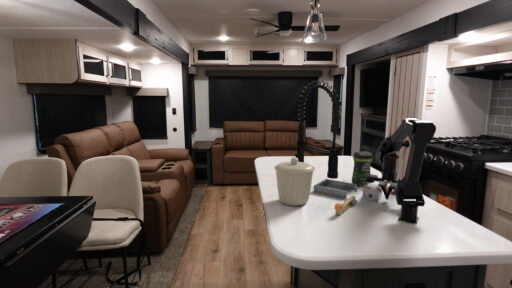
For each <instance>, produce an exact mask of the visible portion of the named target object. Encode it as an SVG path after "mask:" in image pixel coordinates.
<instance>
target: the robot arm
mask: <svg viewBox="0 0 512 288" xmlns="http://www.w3.org/2000/svg"><path fill="white" fill-rule="evenodd" d="M436 132H437V126H436V124H435V123H434V122H433V121H432V120H420V119H417V118H404V119H402V120H401V123H400V125H399V126H398V128H396V129H395V130H394V132H393V134H392V135H390V136H387V137H385V138H384V139H383V140H382V141H381V143H380V145H379V147H378V148H377V151H376V152H375V154H374V158H375V160H376V161H377V162H379V163H381V164H382V169H381V177H378V174H371V173H370V175H368V176H367V177H366V182H368V183H371V184H374V183H375V182H378V184H379V185H378V184H377V185H378V186H380V187H381V188H382V194H383V195H384V198H385V200H389V198H390V197H391V194H392V193H391V192H392V191H394V189H396V190H395V192H396V194H395V201H396V204H397V205H398V206H401V208H400V215H399V216H398V218H397V220H398V221H401V222H402V221H403V222H407V223H411V224H416V225H417V224H418V222H419V219H420V217H419V216H418V211H419V207H425V204H426V201H425V198H424V195H423V193H422V185H421V183H420V182H419V179H420V175H421V169H422V165H423V160H424V156H425V152H426V149H427V148H426V147H427V146H428V145H429V143H431V142H432V140H433V139H434V136H435V134H436ZM407 137H408V139H409V141H410V148H409V152H408V156H407V162H406V166H405V172H404V176H403V177H402V178H399V177H398V173H399V171H398V172H397V166H398V165H397V164H398V159H400V156H399V155H398V154H397V153H399V152H400V150H401V149H402V148H403V144H402V143H403V142H404V141H405V140H406V138H407ZM397 177H398V181H397V180H396V179H397ZM387 187H388V190H387Z"/></svg>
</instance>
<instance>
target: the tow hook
mask: <svg viewBox="0 0 512 288" xmlns="http://www.w3.org/2000/svg"><path fill="white" fill-rule="evenodd" d="M396 171H397V172H398V177H397V179H396V180H397V181H398V179H399V173H400V172H399V168H396ZM388 187H389V186H388ZM388 187H387V190H388ZM395 190H396V189H393V190H392V192H391V194H393V195H396V192H395Z"/></svg>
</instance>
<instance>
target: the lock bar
mask: <svg viewBox="0 0 512 288" xmlns="http://www.w3.org/2000/svg"><path fill="white" fill-rule="evenodd" d="M348 198H349V199H347V198H346V199H347V200H346V201H345V202H344V201H343V203H341V202H340V203H339V202H337V203H335V204H334V210H335V213H334V214H335V215H336V216H341V215H342V214H343V213H344V212H346V210H348V208H349V207H352V201H354V200H356V196H354V195H351V196H350V197H348Z"/></svg>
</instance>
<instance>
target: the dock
mask: <svg viewBox="0 0 512 288" xmlns="http://www.w3.org/2000/svg"><path fill="white" fill-rule="evenodd" d="M332 187H333V188H332ZM336 188H337V189H336ZM342 189H343V190H342ZM348 191H353V192H356V191H357V185H356V184H353V183H352V182H347V181H341V180H335V179H329V178H325V179H323V180H321V181H320V182H318V183H316V184H314V185H313V193H314V194H315V193H316V194H321V195H326V196H331V197H335V198H340V199H344V200H343V203H344V202H345V201H346V200H347V199H349V198H350V197H347V195H348ZM357 204H358V199H355V200H354V201H352V205H351V207H355V206H356V205H357Z"/></svg>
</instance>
